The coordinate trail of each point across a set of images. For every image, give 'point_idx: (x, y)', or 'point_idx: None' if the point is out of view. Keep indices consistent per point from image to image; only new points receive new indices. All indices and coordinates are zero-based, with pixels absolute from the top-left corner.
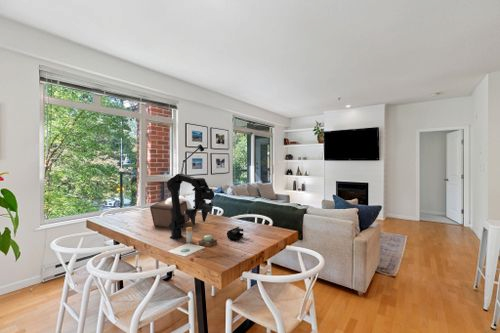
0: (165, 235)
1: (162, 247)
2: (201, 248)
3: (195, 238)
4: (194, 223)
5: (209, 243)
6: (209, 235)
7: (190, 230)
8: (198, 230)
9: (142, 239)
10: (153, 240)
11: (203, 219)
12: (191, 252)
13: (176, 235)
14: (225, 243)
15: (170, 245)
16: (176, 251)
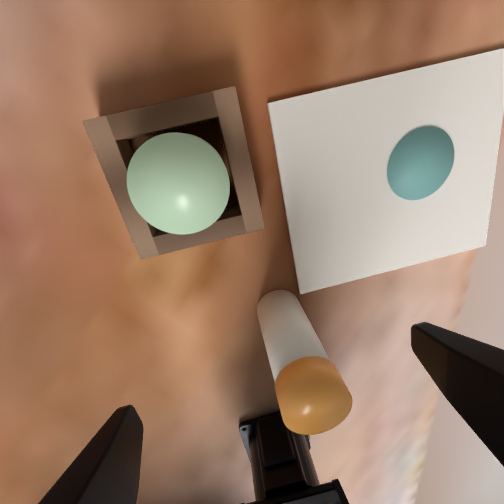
0: None
1: None
2: (311, 98)
3: (192, 354)
4: (444, 335)
5: (218, 91)
6: (145, 200)
7: (315, 362)
8: None
9: (403, 484)
10: (384, 450)
11: (128, 466)
12: (425, 81)
13: (295, 436)
14: (18, 27)
15: (389, 334)
16: (459, 199)
